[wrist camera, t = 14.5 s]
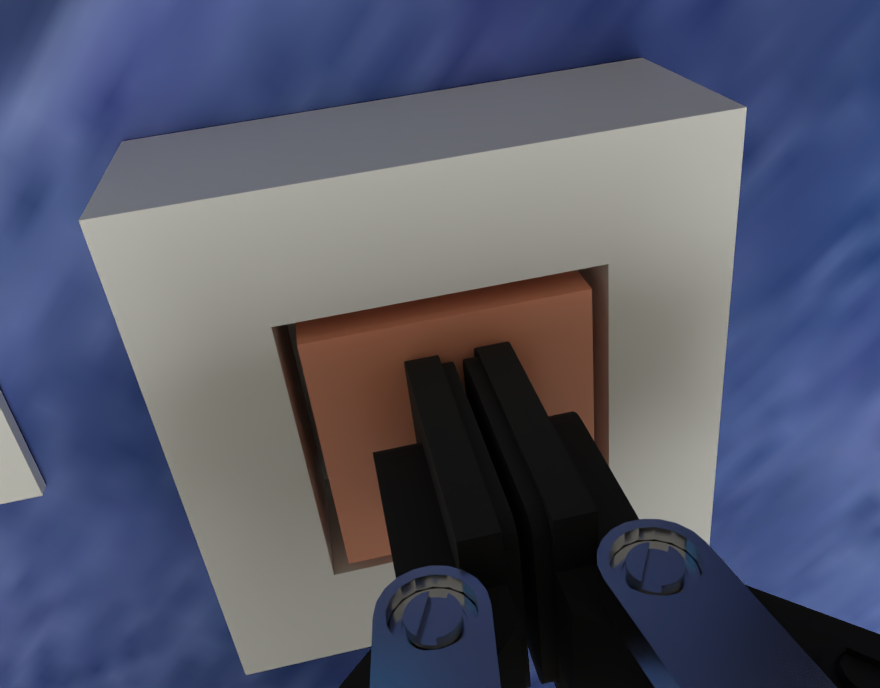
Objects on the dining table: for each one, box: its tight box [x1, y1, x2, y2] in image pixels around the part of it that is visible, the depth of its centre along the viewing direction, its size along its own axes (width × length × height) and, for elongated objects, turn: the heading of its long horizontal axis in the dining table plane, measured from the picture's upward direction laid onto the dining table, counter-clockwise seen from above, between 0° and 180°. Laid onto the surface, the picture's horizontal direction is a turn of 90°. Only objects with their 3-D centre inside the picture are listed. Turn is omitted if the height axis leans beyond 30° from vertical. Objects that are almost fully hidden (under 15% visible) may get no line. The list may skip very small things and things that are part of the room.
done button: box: [295, 270, 594, 564], centre depth 14 cm, size 4×4×2 cm
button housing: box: [79, 58, 747, 675], centre depth 14 cm, size 9×9×4 cm
